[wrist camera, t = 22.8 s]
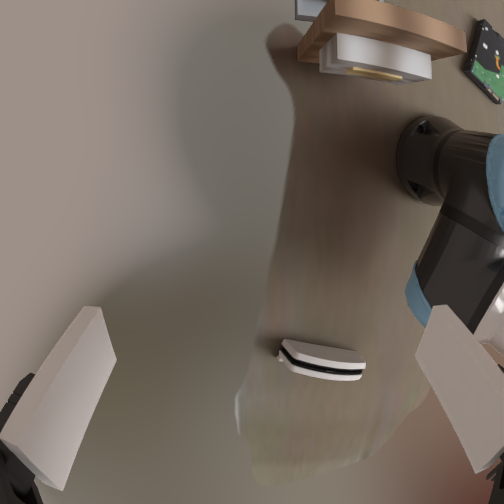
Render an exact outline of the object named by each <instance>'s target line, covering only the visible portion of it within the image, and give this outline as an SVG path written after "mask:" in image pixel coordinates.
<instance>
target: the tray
mask: <svg viewBox="0 0 504 504" xmlns="http://www.w3.org/2000/svg"><path fill="white" fill-rule="evenodd" d="M377 1H380V2H384V0H377ZM326 3H327V0H295V20H301V21H311V22H314V20H315V19H316V17H317V16H318V14H319V13H320V12H321V10H322V9H323V7H324V6H325V4H326Z"/></svg>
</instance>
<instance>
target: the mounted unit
mask: <svg viewBox="0 0 504 504" xmlns="http://www.w3.org/2000/svg"><path fill="white" fill-rule="evenodd" d="M463 53H467V46H466V36H465V31H463V30H460V29H458V28H456V27H454V26H451V25H449V24H446V23H444V22H442V21H439V20H436V19H434V18H431V17H428V16H426V15H423V14H420V13H417V12H414V11H411V10H408V9H405V8H402V7H398V6H395V5H391V4H388V3H384V2H380V1H377V0H328V1H327V3H326V4H325V6H324V7H323V9H322V10H321V12H320V13H319V14H318V16H317V17H316V19H315V20H314V22H313V24H312V25H311V27H310V28H309V30H308V31H307V33H306V34H305V36H304V37H303V39H302V40H301V42H300V43H299V45H298V47H297V62H308V63H318V64H320V72H325V73H333V74H341V75H348V76H354V77H361V78H367V79H372V80H378V81H383V82H388V83H393V84H397V85H402V84H408V83H413V82H419V81H424V80H430V79H431V61H433V60H437V59H441V58H445V57H450V56H454V55H459V54H463Z"/></svg>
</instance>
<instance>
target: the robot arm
mask: <svg viewBox="0 0 504 504" xmlns="http://www.w3.org/2000/svg"><path fill="white" fill-rule="evenodd" d="M396 164H397V171H398V174H399V177H400V180H401V182H402V184H403V186H404V187H405V189H406V190H407V191H408V192H409V193H410V194H411V195H412V196H413V197H414V198H416V199H418V200H420V201H421V202H423V203H426V204H429V205H433V206H442V207H441V209H440V212H439V214H438V216H437V219H436V221H435V223H434V226H433V228H432V230H431V232H430V234H429V237H428V239H427V241H426V243H425V245H424V247H423V249H422V252H421V254H420V256H419V258H418V260H417V261H416V262H415V263H414V266H413V271H412V273H411V276H410V278H409V280H408V282H407V285H406V288H405V294H406V300H407V303H408V306H409V308H410V309H411V311H412V313H413V314H414V316H415V317H416V318H417V319H418V321H419V322H420V323H421V324H422V325H423V326H424V327H425V331H424V333H423V336H422V339H421V341H420V344H419V346H418V349H417V351H416V354H415V356H414V357H415V359H416V360H417V362H418V364H419V365H420V367H421V369H422V371H423V372H424V374H425V376H426V378H427V379H428V381H429V383H430V385H431V386H432V388H433V390H434V392H435V393H436V395H437V397H438V399H439V401H440V403H441V405H442V407H443V408H444V410H445V412H446V414H447V416H448V418H449V420H450V422H451V424H452V426H453V427H454V430H455V432H456V434H457V436H458V438H459V440H460V442H461V444H462V446H463V448H464V450H465V452H466V454H467V456H468V459H469V461H470V463H471V465H472V467H473V469H474V472H475V473H478V472H480V471H482V470H484V469H486V468H488V467H490V466H491V465H492V464H493V463H494V462H495V461H496V460H497V459H498V458H499V457H500V458H501V461H502V462H500V464H498V465H497V466H496V467H495V468H494V469H493V470H492V471H491V472H490V473H489V474H488V475H487V478H486V479H487V480H488V479H489V478H490V477H492V476H493V475H494V474H495V473H496V475H495V476H494V477H493V478H492V480H491V481H494V485H493V489H492V493H491V497H490V500H489V504H504V368H503V367H502V366H500V365H499V364H498V365H497V364H496V363H495V362H494V360H493V359H492V358H491V357H490V355H489V354H488V353H487V351H486V350H485V349H484V348H483V346H482V345H481V344H483V343H488V344H490V345H491V346H492V347H493V348H495V349H496V350H497V351H498V352H499V353H500V354H501V355H503V356H504V135H503V134H492V133H485V132H477V131H469V130H464V129H462V128H461V127H459V126H458V125H456V124H455V123H453V122H452V121H450V120H448V119H446V118H443V117H437V116H425V117H421V118H418V119H416V120H415V121H413V122H412V123H411V124H409V125H408V127H407V128H406V129H405V130H404V132H403V134H402V135H401V137H400V140H399V143H398V147H397V153H396ZM116 361H117V360H116V357H115V354H114V351H113V348H112V345H111V341H110V338H109V335H108V332H107V328H106V325H105V322H104V318H103V314H102V310H101V308H100V307H92V306H84V307H83V308H82V310H81V311H80V312H79V314H78V315H77V316H76V318H75V319H74V320H73V322H72V323H71V325H70V326H69V327H68V328H67V330H66V331H65V333H64V334H63V335H62V337H61V338H60V340H59V341H58V342H57V344H56V345H55V347H54V348H53V349H52V351H51V352H50V354H49V355H48V357H47V358H46V360H45V361H44V363H43V364H42V366H41V367H40V369H39V370H38V372H37V373H36V374H33V373H30V374H28V375H27V376H26V377H25V378H23V379H22V380H21V381H20V382H19V384H18V385H17V387H16V388H15V390H14V391H13V394H11V396H10V397H9V399H8V403H6V404H5V405H4V407H3V409H2V411H1V412H0V504H43V502H42V499H41V496H40V494H39V491H38V488H37V486H36V484H35V482H34V478H35V476H36V477H37V478H39V479H40V480H41V481H42V482H43V483H44V484H46V485H49V486H51V487H53V488H56V489H58V490H61V491H63V489H64V487H65V484H66V481H67V478H68V475H69V472H70V470H71V467H72V464H73V461H74V459H75V456H76V454H77V451H78V449H79V446H80V443H81V441H82V438H83V436H84V433H85V431H86V429H87V426H88V424H89V421H90V419H91V417H92V414H93V412H94V409H95V407H96V405H97V402H98V400H99V398H100V396H101V393H102V391H103V389H104V386H105V384H106V382H107V380H108V378H109V375H110V374H111V371H112V369H113V367H114V365H115V363H116Z"/></svg>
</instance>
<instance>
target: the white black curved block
mask: <svg viewBox="0 0 504 504" xmlns="http://www.w3.org/2000/svg"><path fill="white" fill-rule="evenodd" d="M281 344H282V345H283V346H282V347H283V348H284V349H282V350H279V356H277V359H278V361H283V362H284V363H285V364H286V365H287V367H288V368H289V369H290V370H291V371H293V372H297V373H300V374H304V375H308V376H312V377H317V378H323V379H330V380H344V381H350V380H359V379H360V378H361V376H362V374H363V373H362V370H363V369H365V365H366V361H365V360H364V359H363V358H362V357H361V355H360V354H359V353H358V352H357V351H352V350H346V349H340V348H333V347H327V346H321V345H316V344H310V343H304V342H299V341H294V340H288V339H284V340H283V342H282V343H281Z"/></svg>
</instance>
